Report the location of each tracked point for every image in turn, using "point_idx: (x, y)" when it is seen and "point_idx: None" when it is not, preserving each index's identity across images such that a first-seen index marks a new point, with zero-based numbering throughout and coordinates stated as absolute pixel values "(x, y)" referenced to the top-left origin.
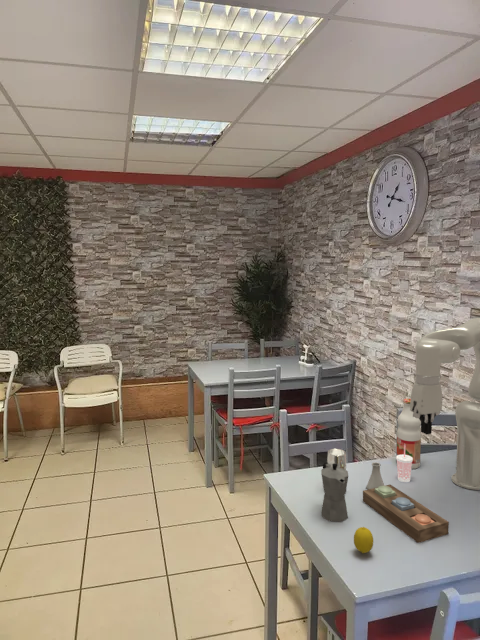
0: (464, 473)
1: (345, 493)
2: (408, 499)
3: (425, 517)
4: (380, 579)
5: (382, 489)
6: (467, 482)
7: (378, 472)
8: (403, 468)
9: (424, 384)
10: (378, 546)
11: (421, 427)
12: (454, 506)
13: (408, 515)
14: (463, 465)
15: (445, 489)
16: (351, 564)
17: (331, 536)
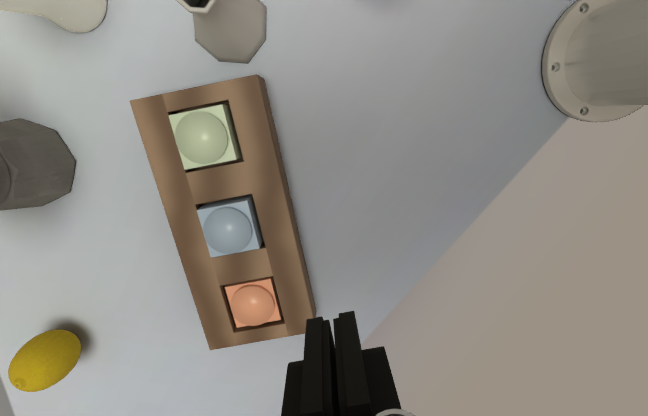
0: (597, 76)
1: None
2: (249, 228)
3: (260, 306)
4: (84, 412)
5: (188, 140)
6: (577, 90)
7: (212, 20)
8: None
9: None
10: (117, 321)
11: (286, 388)
12: (426, 196)
13: (219, 282)
14: (624, 67)
15: (479, 87)
16: None
17: (5, 262)
